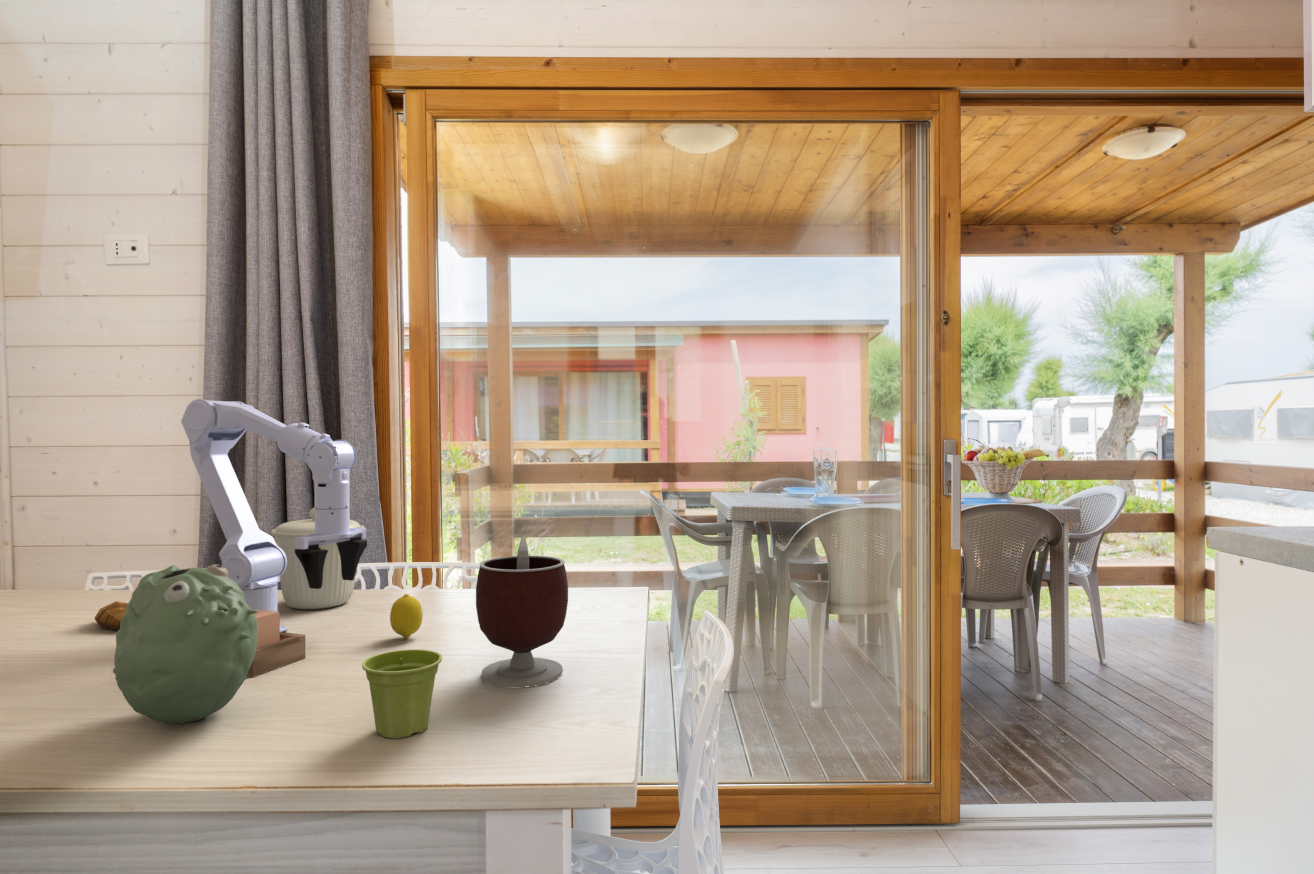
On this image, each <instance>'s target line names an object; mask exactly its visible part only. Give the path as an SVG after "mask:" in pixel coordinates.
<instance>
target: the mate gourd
mask: <svg viewBox="0 0 1314 874" xmlns="http://www.w3.org/2000/svg"><path fill="white" fill-rule="evenodd" d="M519 541H520V542H519V546H518V550H517V555H513V556H510V555H509V556H503V557H502V556H500V557H493V558H489V559H487V560H485V559H484V560H483V561H481V562H480V563H479V569H478V572H477V580H476V587H475V609H476V615H477V621H478V624H479V629H480V631H481V632H482V633H483V634H484V636H485V637H486V638H487V640H488V641H489V642H490V643H491V644H492V645H494V646H497V647H500V648H503V649H506V650H508V651H511V652H513V654H512V657H511V658H509V659H508V658H507V659H503V660H499V661H495V662H493V663H490V664H488V665H486V666H485V667H483V669H482V670H481V673H480V675H481V677H482V678H481V677H480V678H481V680H482V681H483V682H484V683H485V682H486V683H485V684H487V683H488V684H487V685H491V686H493V687H498V688H504V687H525V686H534V687H536V686H535V685H539V686H541V685H540V684H543V685H546V684H545V683H547V682H550V683H552V682H551V681H553V680H555V681H557V680H558V679H559V678H558V677H560V676H561V677H562V675H563V673H562V672H564V669H563V665H562V664H561V663H560V662H558V661H556V660H553V659H547V658H543V657H534V656H533V653H532V651H534V650H535V649H537V648H539V647H542V646H544V645H547V644H549V643H551V642H553V641H554V640H555V639H556V638H557V635H558V634H559V632H560V631H561V630H562V628H563V627H564V625H565V621H566V616H567V610H568V605H569V604H568V603H569V584H568V575H567V569H566V567H565V560H564V559H563V558H560V557H554V556H547V555H529V549H528V548H529V546H528V543H527V537H526V536H525V535H522V536H521V537H520V540H519ZM561 674H562V675H561ZM561 677H560V678H561ZM557 678H558V679H557ZM556 679H557V680H556ZM553 682H554V681H553ZM547 684H548V683H547ZM525 688H526V687H525Z"/></svg>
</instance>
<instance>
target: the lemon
mask: <svg viewBox="0 0 1314 874" xmlns="http://www.w3.org/2000/svg"><path fill="white" fill-rule="evenodd" d="M423 615H424V614H423V608H422V605H421V603H420V601H419V600H418V599H417V598H415V596H411V595H410V594H408V593H407V594H406V593H405V594H404V595H403V596H400V597H399V598H397V599H396V600H395V601H394V602H393V603H392V606H391V609H390V614H389V623H390V626H391V628H392V630H393V632H394V633H396V634H397V635H398V636H399V635H400V636H402V638H404V640H405V639H409V638H410V637H411V636H412V635H414V634H415V633H416V632H417V631H418V630H419V629H420V627H421V625H422V623H423Z"/></svg>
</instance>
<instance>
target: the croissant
mask: <svg viewBox="0 0 1314 874" xmlns="http://www.w3.org/2000/svg"><path fill="white" fill-rule="evenodd" d="M128 603H129V602H128ZM128 603H127V602H123V601H116V600H115V601H113V602H111V603H110V604H107V605H105V606H103V607H101V608H99V610H98V612H97V613H96V615H95V617H94V620H95V621H96V623H97V624H98V626H99V627H100V628H101V629H107V630H110V631H115V632H117V631H118V630H120V622H121V618H122V617H123V616H124V615H125V612H126V608H127V605H128Z"/></svg>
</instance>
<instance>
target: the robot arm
mask: <svg viewBox="0 0 1314 874" xmlns="http://www.w3.org/2000/svg"><path fill="white" fill-rule="evenodd" d="M180 422H181V424H182V428H183V429H184V431H185V434H186V436H187V438H188V439H187V440H188V442H189V452H190V453H189V454H190V457H191V459H192V462H193V465H194V466H195V469H196V470H197V473H198V475H199V478H200V481H201V483H202V485H203V488H204V490H205V492H206V494H207V497H208V499H209V502H210V504H211V506H212V509H213V511H214V513H215V515H216V519H217V521H218V523H219V525H220V528H221V530H222V532H223V534H224V537H225V538H226V539H225V540H226V542H225V544H224V545H223V547H222V548H221V549H220V551H219V553H218V555H219V558H220V560H221V565H222V566H223V567H225V568H226V569H227V571H228V577H229V578H230V579H231V580H233V581H235V582H236V583H237V584H238V586H239V587H240V588H241V589H242V591H243V592H244V595H245V600H246V603H247V604H248V605H249V607H250V608H251V609H252V610H255V611H256V610H267V611H275V612H279V610H278V609H279V608H278V607H279V604H278V599H279V598H278V594H279V593H278V591H279V590H278V587H279V585H278V583H281V582H280V576H281V575H282V574H283V573H284V572H285V570H286V567H287V557H286V555H285V553H284V551H283V550H282V549H281V548H280V547H279V546H278V545H277V544H276V542H275V537H274V536H272V535H270V534H269V533H267V532H265V531H263V530H261V529H260V527H259V525H258V523H257V520H256V518H255V516H254V513H253V512H252V509H251V506H250V504H249V502H248V500H247V497H246V495H245V492H244V490H243V488H242V486H241V483H240V482H239V479H238V476H237V474H236V472H235V469H234V467H233V465H232V463H231V460H230V458H229V455H228V454H229V451H230V450H231V449H233V448H234V447H235V445H236V444H237V443H238V441H239V440H240V439H241V438H242V436H243V435H244V434H245V433H246V431H248V432H249V431H250V432H252V433H254V434H258V436H262V437H264V438H266V439H270V440H272V441H274V442H276V443H277V446H278V449H279V450H280V451H281V452H282V453H284V454H286V455H288V456H291V457H292V458H295V459H297V460H299V461H302V462H304V463H305V464H307V466H308V468H309V469H310V470H311V473H312V480H313V482H314V507H315V533H312V534H309V535H305V536H301V537H296V538H295V554H296V556H297V557H298V559H299V560H300V562H301V564H302V566H303V568H304V571H305V573H306V577H307V580H308V584H309V587H310V588H313V589H320V588H321V587H322V583H323V568H324V562H325V558H326V555H327V553H328V550H324V549H321V548H319V546H321V545H327V544H332V543H336V544H337V547H338V550H339V554H340V559H341V573H342V579H343V580H350V581H352V580H354V577H355V574H356V575H357V569H358V566H359V562H360V561H361V557H362V555H363V553H364V551H365V549H366V548H367V546H368V540H367V539H366V538H367V528H366V527H364V528H350V520H351V519H350V517H351V515H350V514H351V513H350V509H351V508H350V505H351V504H350V503H351V501H350V500H351V499H350V498H351V497H350V494H351V493H350V492H351V490H350V489H351V487H350V485H351V484H350V482H351V481H350V480H351V479H350V477H351V475H350V472H351V471H350V470H351V469H352V468H353V467H354V466H356V465H355V464H356V462H357V451H356V449H355V447H354V446H353V445H352V443H350V442H348V441H347V439H336V440H332V438H331V435H329V434H327V433H320V432H317V431H316V430H313V429H310V424H308V423H306V422H298V423H296V422H294V423H290V424H288V425H286V424H284V423H283V422H281V421H279V420H277V419H275V418H273V417H271V416H269V415H267V414H266V413H264V412H262V411H260V410H258V409H256V408H254V406H253V405H251V404H246V403H244V402H242V401H239V400H236V401H235V400H233V401H230V400H229V401H226V400H225V401H224V400H223V401H222V400H207V399H203V398H196V399H193V400H192V401H191V402H189V403H188V405H187V406H186V408H185V410H184V413H183V416H182V418H181V420H180ZM340 538H341V539H340ZM331 539H335V540H331ZM328 540H330V541H328ZM355 578H356V577H355ZM288 630H289V626H282V625H280V632H285V631H288Z"/></svg>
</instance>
